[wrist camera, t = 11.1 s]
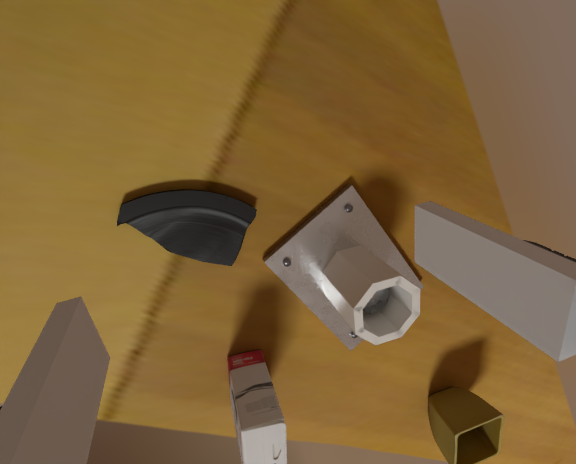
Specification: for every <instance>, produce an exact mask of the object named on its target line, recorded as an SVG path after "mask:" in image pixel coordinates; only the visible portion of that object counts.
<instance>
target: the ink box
mask: <svg viewBox="0 0 576 464" xmlns="http://www.w3.org/2000/svg"><path fill="white" fill-rule="evenodd" d="M227 361H228V372H229V384H230V395H231V405H232V411H233V417H234V423H235V428H236V434H237V440H238V445H239V450H240V457H241V462H242V464H287V457H286V456H287V454H286V452H287V448H286V447H287V446H286V424H285V423H284V417H283V414H282V411H281V408H280V405H279V402H278V399H277V396H276V393H275V390H274V387H273V384H272V381H271V378H270V375H269V372H268V369H267V366H266V363H265V360H264V356H263V353H262V351H261V350H256V351H251V352H246V353H241V354H237V355H233V356H229V357H228V358H227Z"/></svg>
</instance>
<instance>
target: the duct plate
mask: <svg viewBox="0 0 576 464" xmlns="http://www.w3.org/2000/svg"><path fill="white" fill-rule="evenodd" d="M359 245H362V246H363V247H365V248H366V249H367V250H369V251H370V252H372V253H373V254H375V255H376V256H377V257H379V258H381V259H382V260H383V261H384V262H386V263H387V264H388V265H390V266H391V267H392V268H394V269H395V270H396V271H398V272H399V273H400V274H402V275H403V276H404V277H405V278H407V279H408V280H409V281H411V282H412V283H413V284H415V285H416V286H417V287H419V288H420V290H421V289H422V288H423V285H422V284H421V282H420V281H419V279H418V278H417V277H416V275H415V274H414V272H413V271H412V270H411V268H410V267H409V265H408V264H407V262H406V261H405V260H404V258H403V257H402V255H401V254H400V253H399V251H398V250H397V248H396V247H395V245H394V244H393V243H392V241H391V240H390V238H389V237H388V235H387V234H386V233H385V231H384V230H383V228H382V227H381V226H380V224H379V223H378V221H377V220H376V218H375V217H374V216H373V214H372V213H371V211H370V210H369V209H368V207H367V206H366V204H365V203H364V201H363V200H362V199H361V197H360V196H359V194H358V193H357V191H356V190H355V189H354V187H353V186H352V185H351V184H347V185H346V186H345V187H344V188H343V189H342V190H341V191H339V192H338V193H337V194H336V195H335V196H334V197H333V198H331V199H330V200H329V201H328V202H327V203H326V204H325V205H323V206H322V207H321V208H320V209H319V210H318V211H317V212H315V213H314V214H313V215H312V216H311V217H310V218H309V219H307V220H306V221H305V222H304V223H303V224H302V225H301V226H299V227H298V228H297V229H296V230H295V231H294V232H293V233H291V234H290V235H289V236H288V237H287V238H286V239H285V240H284V241H282V242H281V243H280V244H279V245H278V246H277V247H276V248H274V249H273V250H272V251H271V252H270V253H269V254H268V255H266V256H265V257H264V258H263V261H264V263H265V264H266V265H267V266H268V267H269V268H270V269H271V270H272V271H273V272H274V273H275V274H276V275H277V276H278V277H279V278H280V279H281V280H282V281H283V282H284V283H285V284H286V285H287V286H288V287H289V288H290V289H291V290H292V291H293V292H294V293H295V294H296V295H297V296H298V297H299V298H300V299H301V300H302V301H303V302H304V303H305V305H306V306H307V307H308V308H309V309H310V310H311V311H312V312H313V313H314V314H315V315H316V316H317V317H318V318H319V319H320V320H321V321H322V322H323V323H324V324H325V325H326V326H327V327H328V328H329V329H330V330H331V331H332V332H333V333H334V334H335V335H336V336H337V337H338V338H339V339H340V340H341V341H342V342H343V343H344V344H345V345H346V346H347V347H348V348H349V350H350V351H351V350H352V349H353V348H355V347H356V346H357V345H358V344H359V343H360V342H361V341H363V340H364V339H363V338H361V337H359V336H357V335H355V333H354V332H353V331H352V330H351V328H350V327H349V326H348V324H347V323H346V322H345V320H344V319H343V318H342V317H341V315H340V314H339V313H338V311H337V310H336V309H335V307H334V306H333V305H332V304H331V302H330V301H329V300H328V298H327V297H326V296H325V294H324V286H323V277H322V271H323V270H324V268H325V267H326V266H327V264H328V263H329V262H330V260H331V259H332V258H333V256H334V255H335V254H336V252H337V251H340V250H344V249H347V248H351V247H355V246H359ZM388 300H389V289H388V288H385V289H382V290H379V291H376V293H375V294H374V295H373V297H372V298H371V299H370V300H369V302H368V303H367V304H366V306H365V307H364V308H363V312H365V313H375V312H378V311H380V310H381V309H382V308H383V307H384V306H385V305H386V304H387V302H388Z"/></svg>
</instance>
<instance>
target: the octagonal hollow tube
mask: <svg viewBox="0 0 576 464" xmlns="http://www.w3.org/2000/svg"><path fill="white" fill-rule="evenodd" d="M322 277H323V286H324V294H325V296H326V297H327V298H328V300H329V301H330V302H331V304H332V305H333V306H334V307H335V309H336V310H337V311H338V313H339V314H340V315H341V317H342V318H343V319H344V320H345V322H346V323H347V324H348V326H349V327H350V328H351V330H352V331H353V332H354V333H355V335H357V336H359V337H361V338H363V339H365V340H367V341H369V342H371V343H372V344H374V345H378V344H381V343H384V342H387V341H391V340H394V339H397V338H400V337H402V336H403V335H404V333H405V332H406V331H407V330H408V328H409V327H410V326H411V325H412V323H413V322H414V321H415V320H416V318H417V317H418V316H419V315H420V288H419V287H417V286H416V285H415V284H413V283H412V282H411V281H409V280H408V279H407V278H405V277H404V276H403V275H402V274H400V273H399V272H398V271H396V270H395V269H394V268H392V267H391V266H390V265H388V264H387V263H386V262H384V261H383V260H382V259H381V258H379V257H377V256H376V255H375V254H373V253H372V252H370V251H369V250H367V249H366V248H365V247H363V246H362V245H359V246H355V247H351V248H347V249H344V250H340V251H337V252H336V254H335V255H334V256H333V258H332V259H331V260H330V262H329V263H328V264H327V266H326V267H325V268H324V270H323V271H322ZM385 288H388V289H389V300H388V302H387V304H386V305H385V306H384V307H383V308H382V309H381V310H380V311H378V312H375V313H365V312H363V308H364V307H365V306H366V304H367V303H368V302H369V300H370V299H371V298H372V297H373V295H374V294H375V293H376V291H379V290H382V289H385Z"/></svg>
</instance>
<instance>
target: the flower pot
mask: <svg viewBox="0 0 576 464" xmlns="http://www.w3.org/2000/svg"><path fill="white" fill-rule="evenodd" d="M503 420H504V416H503V414H502V413H500V412H499V411H498V410H496V409H495V408H494V407H492V406H491V405H490V404H488V403H487V402H486V401H484V400H483V399H482V398H480V397H479V396H477V395H476V394H474V393H472V392H470V391H467V390H464V389H461V388H456V387H451V388H448V389H446V390H443V391H441V392H438V393H435V394H433V395H430V396H429V421H430V426H431V430H432V433H433V436H434V439H435V441H436V443H437V445H438V447H439V449H440V450H441V452H442V454H443V455H444V457H445V459H446V460H447V462H448V463H449V464H478V463H480V462H482V461H485V460H487V459H489V458H492V457H494V456H496V455H497V454H499V453H500V448H501V434H502V427H503Z"/></svg>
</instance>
